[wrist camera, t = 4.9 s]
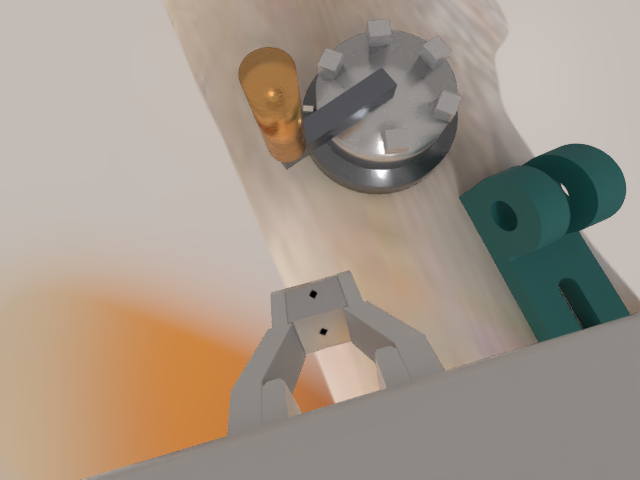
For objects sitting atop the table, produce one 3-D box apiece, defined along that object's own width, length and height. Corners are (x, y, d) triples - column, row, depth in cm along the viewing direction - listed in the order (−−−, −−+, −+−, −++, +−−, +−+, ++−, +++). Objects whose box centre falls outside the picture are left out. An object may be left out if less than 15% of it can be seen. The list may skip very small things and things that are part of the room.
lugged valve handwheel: (389, 37, 28) (431, -137, 17) (469, 122, 26) (578, -9, 15) (246, 131, 27) (184, 10, 15) (318, 229, 25) (310, 175, 13)
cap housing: (470, 171, 28) (482, 160, 26) (325, 211, 28) (325, 204, 25) (420, 48, 31) (427, 29, 29) (288, 83, 30) (285, 67, 28)
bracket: (458, 198, 28) (508, 161, 20) (518, 172, 28) (591, 126, 20) (557, 378, 24) (663, 418, 17) (625, 347, 25) (759, 371, 17)
